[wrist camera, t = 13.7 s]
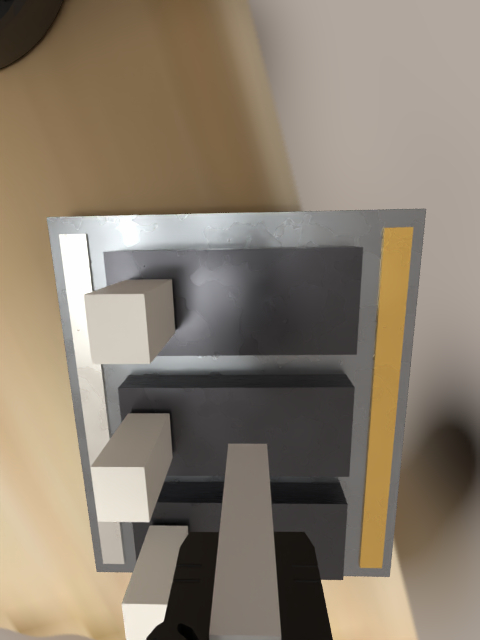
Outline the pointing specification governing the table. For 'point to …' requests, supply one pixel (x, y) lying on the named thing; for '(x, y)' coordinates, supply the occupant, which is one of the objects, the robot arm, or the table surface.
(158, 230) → the panel
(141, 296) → the block
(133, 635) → the breaker far
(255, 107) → the table surface
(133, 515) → the block
